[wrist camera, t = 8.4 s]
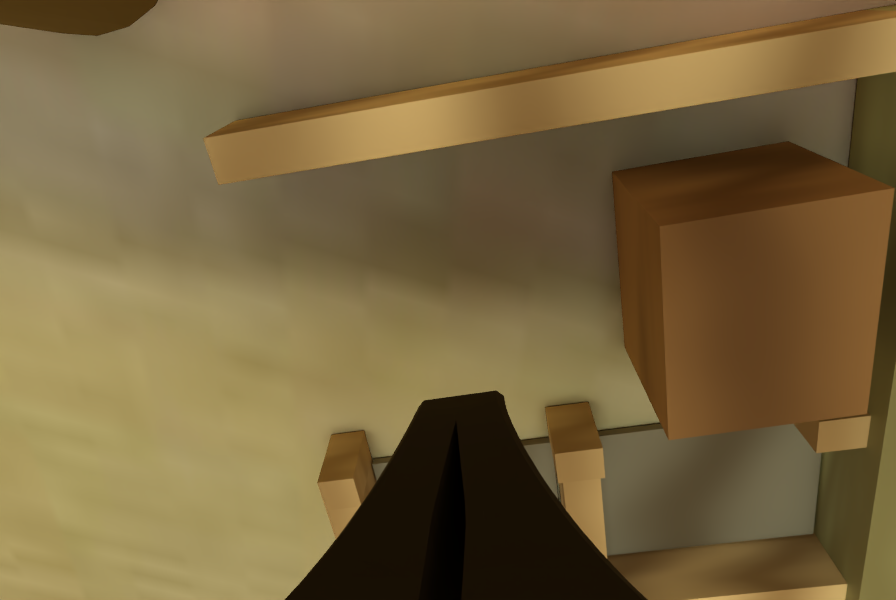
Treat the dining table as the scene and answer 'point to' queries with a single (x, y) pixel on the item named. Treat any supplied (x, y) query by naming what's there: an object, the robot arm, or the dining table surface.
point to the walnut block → (751, 286)
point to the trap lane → (647, 447)
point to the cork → (73, 14)
